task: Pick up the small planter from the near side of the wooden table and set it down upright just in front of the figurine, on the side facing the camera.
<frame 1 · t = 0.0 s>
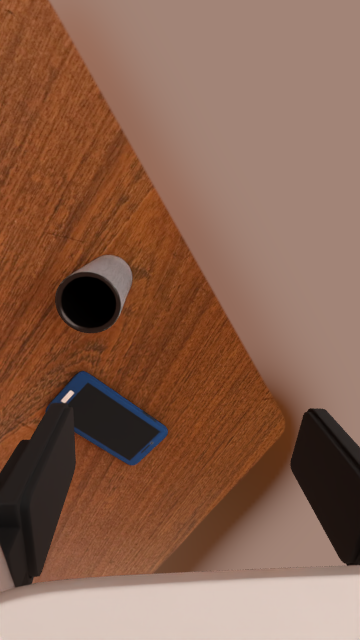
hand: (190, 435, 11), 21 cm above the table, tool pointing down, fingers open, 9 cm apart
cell phone: (110, 418, 35), on the table
planter: (110, 276, 29), on the table
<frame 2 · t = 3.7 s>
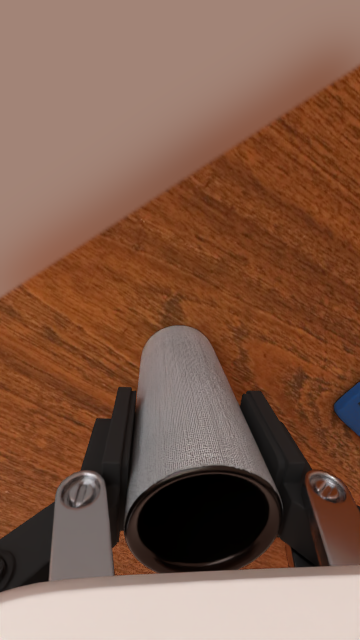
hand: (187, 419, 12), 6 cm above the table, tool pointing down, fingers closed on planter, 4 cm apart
planter: (177, 356, 18), on the table, touching gripper
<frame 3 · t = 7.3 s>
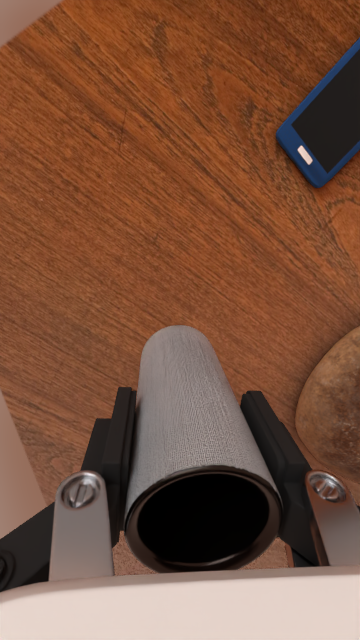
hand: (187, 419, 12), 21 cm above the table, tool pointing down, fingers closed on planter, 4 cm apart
cell phone: (347, 107, 27), on the table
planter: (177, 356, 18), point 15 cm above the table, touching gripper
when the fingers open (6 cm above the table, at t = 11.1 s): planter stays where it is, on the table.
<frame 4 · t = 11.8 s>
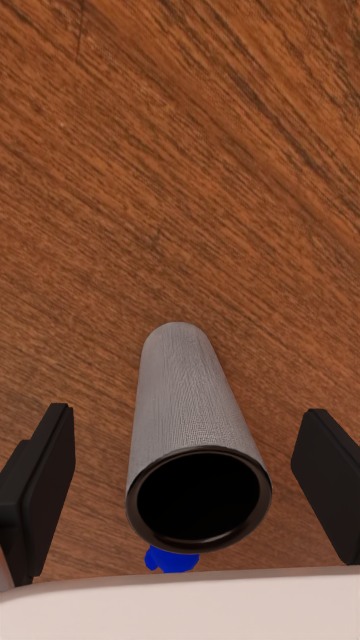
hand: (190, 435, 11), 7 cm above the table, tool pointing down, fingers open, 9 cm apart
planter: (176, 352, 18), on the table
figurine: (177, 488, 22), on the table
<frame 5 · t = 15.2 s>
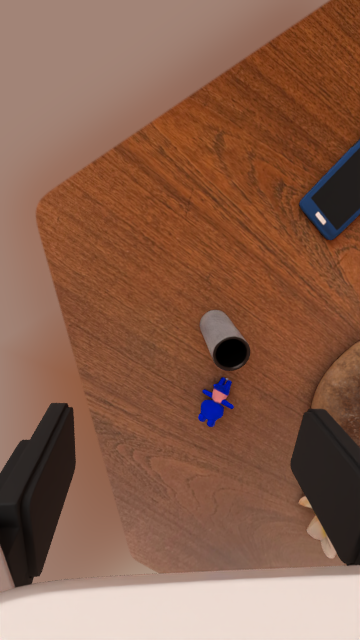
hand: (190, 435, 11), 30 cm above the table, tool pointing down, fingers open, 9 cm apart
cell phone: (351, 183, 37), on the table
planter: (214, 323, 43), on the table
decorative flower: (330, 494, 57), on the table
figurine: (211, 391, 47), on the table
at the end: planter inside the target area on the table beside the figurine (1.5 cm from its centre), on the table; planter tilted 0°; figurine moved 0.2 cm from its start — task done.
